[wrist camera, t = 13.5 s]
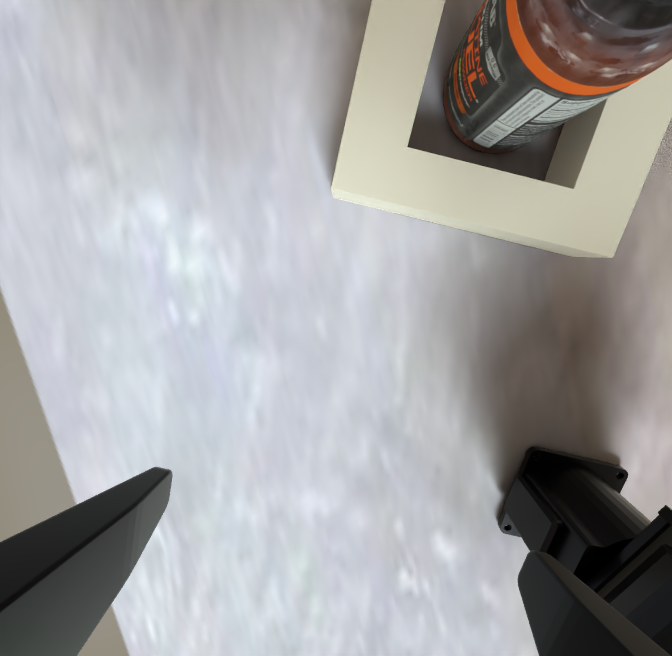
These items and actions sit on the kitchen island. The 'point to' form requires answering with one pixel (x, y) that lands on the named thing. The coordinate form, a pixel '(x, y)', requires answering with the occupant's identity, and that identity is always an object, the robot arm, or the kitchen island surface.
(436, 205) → the u-shaped block
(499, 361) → the kitchen island surface
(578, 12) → the supplement bottle
